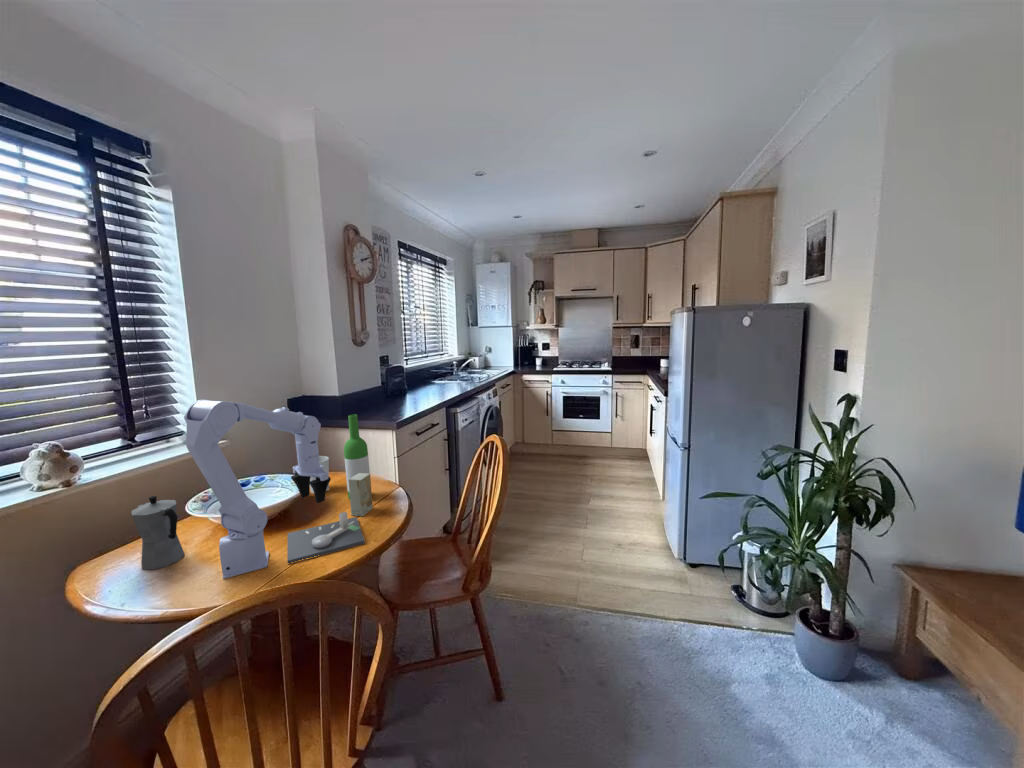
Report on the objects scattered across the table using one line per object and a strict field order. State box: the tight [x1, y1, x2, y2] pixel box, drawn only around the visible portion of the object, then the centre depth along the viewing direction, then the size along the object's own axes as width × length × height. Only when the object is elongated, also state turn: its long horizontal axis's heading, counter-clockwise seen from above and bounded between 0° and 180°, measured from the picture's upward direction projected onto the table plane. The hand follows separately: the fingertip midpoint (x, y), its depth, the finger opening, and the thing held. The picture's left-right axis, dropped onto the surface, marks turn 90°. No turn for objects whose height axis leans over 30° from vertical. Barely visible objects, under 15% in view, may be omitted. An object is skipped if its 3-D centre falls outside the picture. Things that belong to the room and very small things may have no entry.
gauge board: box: [286, 516, 366, 564], centre depth 115 cm, size 19×16×1 cm
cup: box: [310, 455, 330, 494], centre depth 150 cm, size 8×8×12 cm
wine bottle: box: [343, 413, 371, 500], centre depth 141 cm, size 8×8×30 cm
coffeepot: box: [131, 495, 185, 571], centre depth 106 cm, size 15×9×18 cm, turn 67°
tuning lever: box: [312, 511, 354, 548], centre depth 115 cm, size 14×5×5 cm, turn 153°
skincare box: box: [349, 473, 374, 517], centre depth 132 cm, size 6×4×12 cm
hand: (312, 499), depth 121 cm, fingers open, 7 cm apart
